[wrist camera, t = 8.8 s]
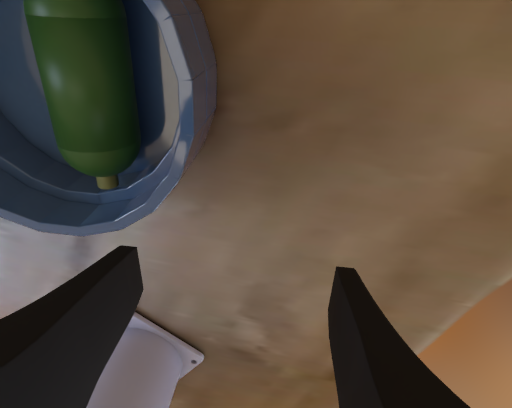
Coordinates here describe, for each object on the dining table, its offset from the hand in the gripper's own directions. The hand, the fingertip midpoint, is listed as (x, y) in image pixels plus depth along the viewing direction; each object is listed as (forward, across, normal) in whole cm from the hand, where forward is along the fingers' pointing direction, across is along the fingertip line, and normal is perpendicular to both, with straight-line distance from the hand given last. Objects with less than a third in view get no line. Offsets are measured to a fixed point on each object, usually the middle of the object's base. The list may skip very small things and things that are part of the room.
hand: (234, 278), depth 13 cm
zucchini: (+8, +10, -5) cm, 14 cm away
